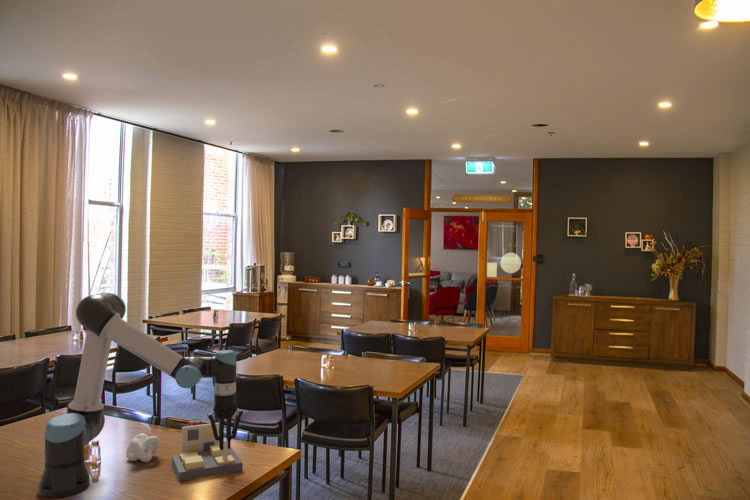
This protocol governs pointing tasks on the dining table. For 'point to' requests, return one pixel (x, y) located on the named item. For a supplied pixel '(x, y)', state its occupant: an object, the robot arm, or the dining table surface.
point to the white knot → (142, 447)
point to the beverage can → (194, 422)
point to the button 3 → (216, 451)
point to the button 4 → (224, 460)
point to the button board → (203, 453)
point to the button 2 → (193, 462)
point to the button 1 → (187, 455)
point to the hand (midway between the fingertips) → (224, 457)
